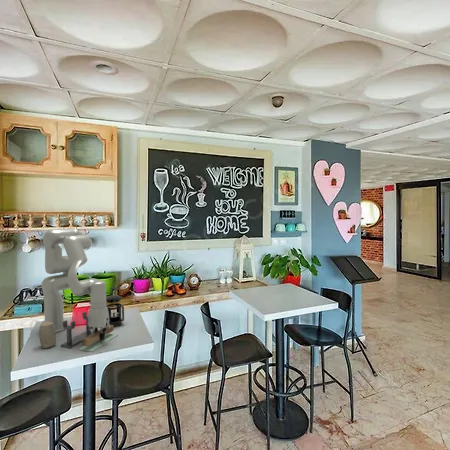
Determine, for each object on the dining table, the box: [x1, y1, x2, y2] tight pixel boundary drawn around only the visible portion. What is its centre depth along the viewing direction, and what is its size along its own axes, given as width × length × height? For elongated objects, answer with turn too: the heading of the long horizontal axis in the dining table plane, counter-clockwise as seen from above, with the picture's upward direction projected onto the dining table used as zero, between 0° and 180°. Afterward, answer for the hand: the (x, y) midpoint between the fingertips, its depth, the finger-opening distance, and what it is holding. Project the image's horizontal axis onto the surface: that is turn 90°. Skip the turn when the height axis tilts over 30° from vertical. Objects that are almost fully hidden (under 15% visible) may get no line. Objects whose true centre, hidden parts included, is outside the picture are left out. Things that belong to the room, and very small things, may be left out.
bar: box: [82, 325, 115, 347], centre depth 154 cm, size 3×20×3 cm, turn 165°
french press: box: [106, 286, 125, 329], centre depth 178 cm, size 12×9×23 cm
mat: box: [78, 333, 119, 353], centre depth 154 cm, size 8×20×1 cm, turn 165°
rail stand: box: [60, 311, 94, 349], centre depth 157 cm, size 6×19×12 cm, turn 165°
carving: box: [38, 322, 57, 349], centre depth 150 cm, size 6×8×12 cm
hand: (99, 339), depth 154 cm, fingers closed on bar, 2 cm apart
